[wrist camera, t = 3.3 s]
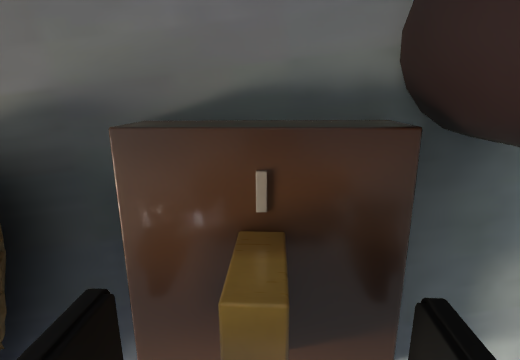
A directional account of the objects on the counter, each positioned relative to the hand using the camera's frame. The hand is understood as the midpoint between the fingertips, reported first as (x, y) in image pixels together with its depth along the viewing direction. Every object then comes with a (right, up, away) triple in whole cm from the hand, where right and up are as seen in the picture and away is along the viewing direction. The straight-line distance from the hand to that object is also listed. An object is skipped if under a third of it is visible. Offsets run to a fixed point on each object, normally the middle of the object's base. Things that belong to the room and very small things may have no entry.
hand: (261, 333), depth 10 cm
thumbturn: (0, +1, +2) cm, 2 cm away
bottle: (+9, +10, +2) cm, 13 cm away
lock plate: (0, +1, +5) cm, 5 cm away
